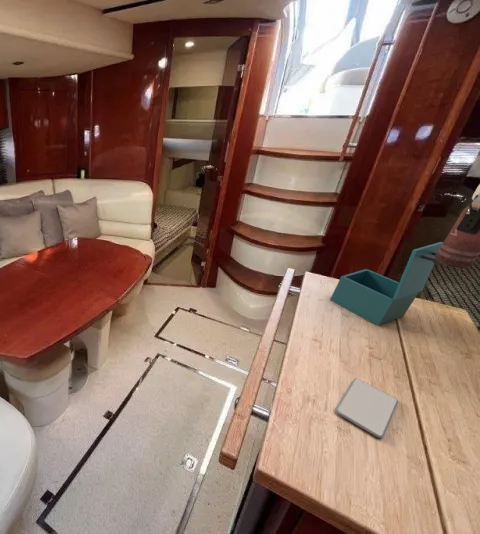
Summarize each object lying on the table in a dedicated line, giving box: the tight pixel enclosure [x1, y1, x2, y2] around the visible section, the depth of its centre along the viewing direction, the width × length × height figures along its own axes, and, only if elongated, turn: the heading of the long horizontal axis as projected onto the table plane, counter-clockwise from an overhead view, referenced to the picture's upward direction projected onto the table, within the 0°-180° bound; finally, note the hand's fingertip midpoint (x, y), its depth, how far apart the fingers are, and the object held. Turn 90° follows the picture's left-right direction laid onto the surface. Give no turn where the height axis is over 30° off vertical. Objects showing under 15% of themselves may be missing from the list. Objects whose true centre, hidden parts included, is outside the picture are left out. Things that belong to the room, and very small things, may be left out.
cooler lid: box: [393, 241, 444, 300], centre depth 85 cm, size 15×13×5 cm
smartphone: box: [335, 378, 399, 439], centre depth 70 cm, size 8×1×15 cm
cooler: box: [329, 268, 421, 327], centre depth 99 cm, size 15×13×10 cm
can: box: [435, 204, 480, 269], centre depth 71 cm, size 6×6×14 cm
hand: (474, 228), depth 70 cm, fingers closed on can, 6 cm apart
